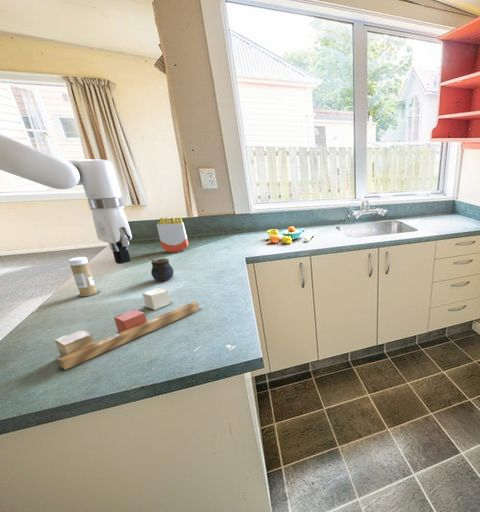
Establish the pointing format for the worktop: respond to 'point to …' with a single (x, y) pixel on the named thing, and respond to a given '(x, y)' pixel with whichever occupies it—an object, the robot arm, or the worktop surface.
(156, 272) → the mate gourd
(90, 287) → the sprinkles bottle
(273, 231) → the toy juicer set
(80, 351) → the rail
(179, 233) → the french fries container
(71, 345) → the maple block
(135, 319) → the terracotta block
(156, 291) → the cream block
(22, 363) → the worktop surface
